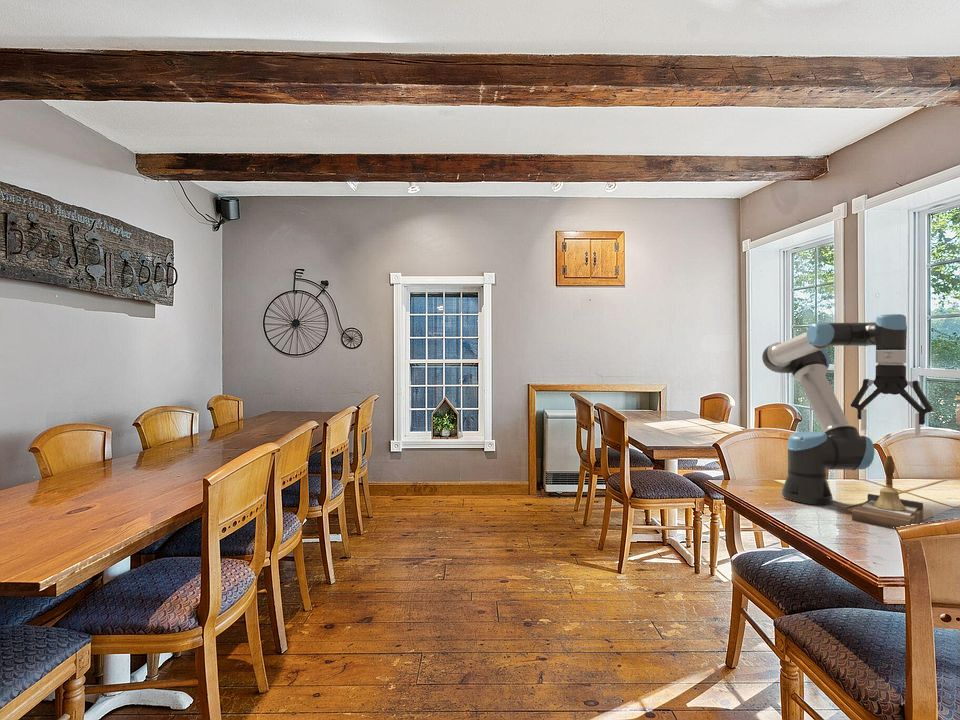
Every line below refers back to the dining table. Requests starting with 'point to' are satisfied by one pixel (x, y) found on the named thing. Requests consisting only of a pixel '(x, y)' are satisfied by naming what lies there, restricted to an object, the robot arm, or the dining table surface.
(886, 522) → the brown wooden display stand
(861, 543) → the dining table surface
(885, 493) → the hand bell
